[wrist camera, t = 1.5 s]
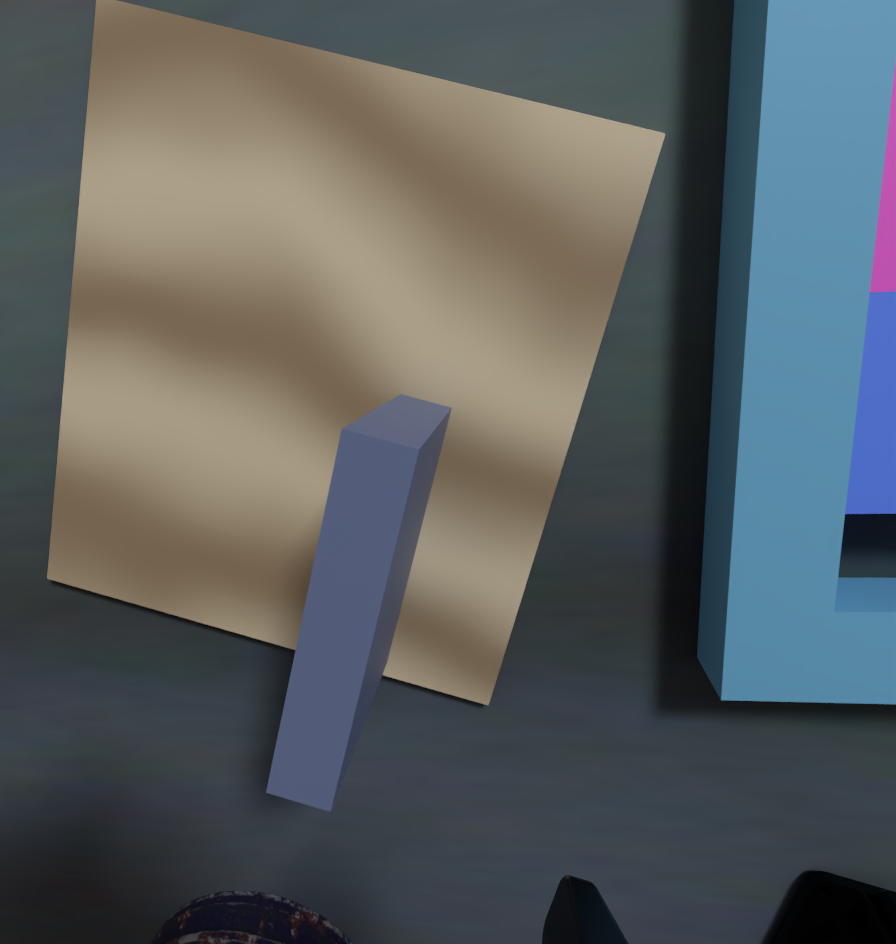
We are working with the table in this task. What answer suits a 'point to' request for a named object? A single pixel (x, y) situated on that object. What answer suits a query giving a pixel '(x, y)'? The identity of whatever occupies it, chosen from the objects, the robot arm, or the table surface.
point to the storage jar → (247, 922)
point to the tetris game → (803, 357)
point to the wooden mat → (324, 324)
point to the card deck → (355, 592)
